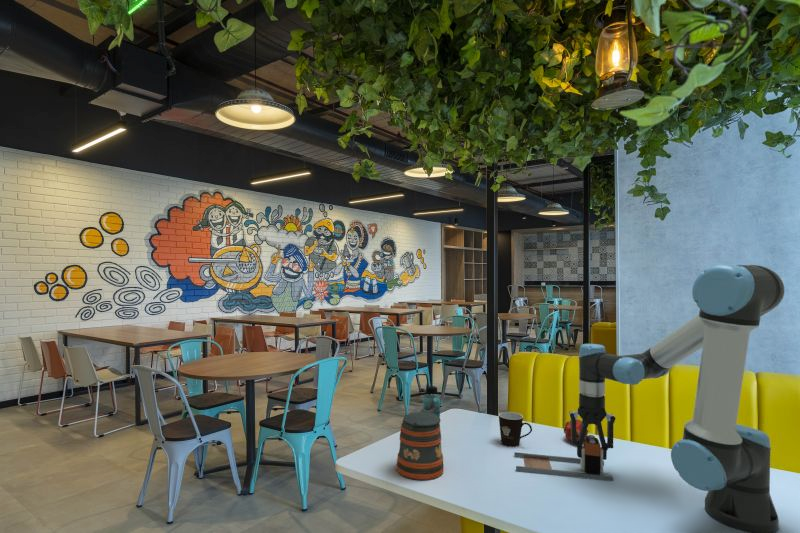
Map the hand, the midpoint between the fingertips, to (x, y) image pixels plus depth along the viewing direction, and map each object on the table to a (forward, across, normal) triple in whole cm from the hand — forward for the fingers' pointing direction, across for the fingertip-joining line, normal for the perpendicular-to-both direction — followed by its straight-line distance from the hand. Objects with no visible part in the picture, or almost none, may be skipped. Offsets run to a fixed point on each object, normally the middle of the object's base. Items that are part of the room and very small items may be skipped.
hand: (591, 468), depth 142 cm
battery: (+1, 0, 0) cm, 1 cm away
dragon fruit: (+1, 0, -25) cm, 25 cm away
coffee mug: (+1, +23, -16) cm, 28 cm away
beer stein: (+1, +52, +10) cm, 53 cm away
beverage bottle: (+1, +52, -11) cm, 53 cm away
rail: (+1, +9, 0) cm, 9 cm away
